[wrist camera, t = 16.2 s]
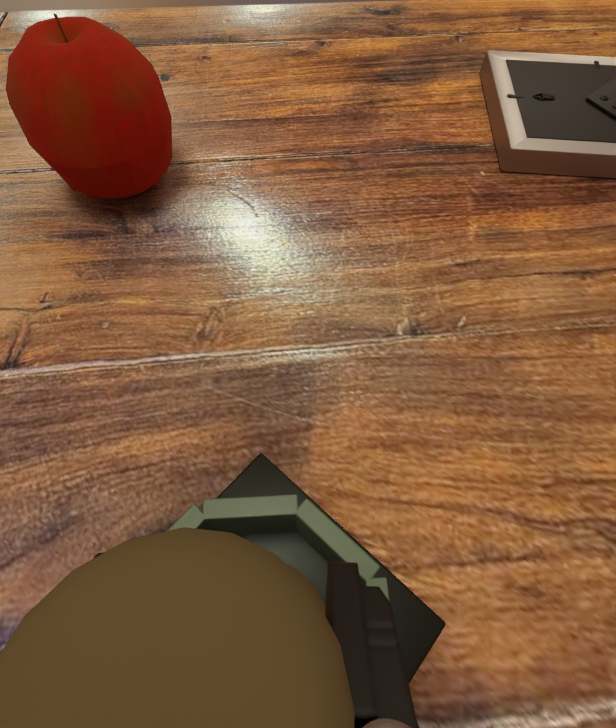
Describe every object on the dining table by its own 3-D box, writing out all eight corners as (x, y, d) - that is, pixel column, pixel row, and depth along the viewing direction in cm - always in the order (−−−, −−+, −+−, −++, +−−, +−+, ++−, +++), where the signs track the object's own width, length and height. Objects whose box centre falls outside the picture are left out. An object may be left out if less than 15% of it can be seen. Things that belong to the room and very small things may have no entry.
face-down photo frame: (683, 84, 43) (479, 72, 44) (706, 53, 41) (489, 41, 41) (748, 187, 36) (500, 171, 36) (781, 156, 33) (515, 140, 34)
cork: (231, 521, 16) (125, 405, 7) (370, 621, 15) (497, 658, 5) (116, 687, 14) (-328, 891, 4) (269, 829, 12) (137, 1703, 2)
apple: (35, 200, 34) (-78, 31, 24) (114, 131, 38) (46, -35, 28) (139, 240, 32) (63, 75, 22) (209, 163, 36) (174, -4, 26)
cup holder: (263, 902, 16) (244, 1055, 11) (79, 646, 20) (-3, 664, 14) (440, 622, 20) (489, 631, 15) (262, 457, 24) (251, 418, 19)
